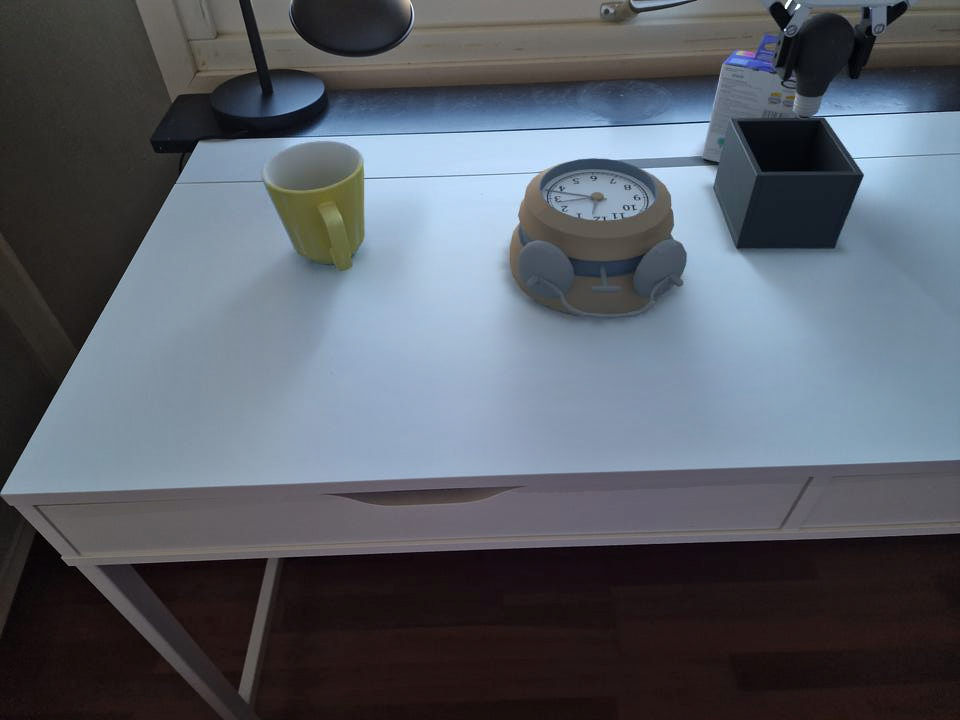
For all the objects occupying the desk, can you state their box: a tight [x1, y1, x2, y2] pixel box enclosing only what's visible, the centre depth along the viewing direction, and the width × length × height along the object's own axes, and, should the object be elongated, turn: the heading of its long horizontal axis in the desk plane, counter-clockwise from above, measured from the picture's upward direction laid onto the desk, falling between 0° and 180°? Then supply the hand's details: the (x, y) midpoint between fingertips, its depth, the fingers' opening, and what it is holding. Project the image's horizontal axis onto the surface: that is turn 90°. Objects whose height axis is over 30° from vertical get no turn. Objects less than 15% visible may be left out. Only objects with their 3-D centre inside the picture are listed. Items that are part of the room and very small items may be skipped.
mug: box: [260, 140, 366, 272], centre depth 71 cm, size 14×10×10 cm
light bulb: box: [793, 11, 855, 119], centre depth 67 cm, size 6×6×10 cm
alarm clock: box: [509, 157, 688, 320], centre depth 68 cm, size 17×9×23 cm
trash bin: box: [712, 116, 865, 249], centre depth 75 cm, size 10×12×9 cm
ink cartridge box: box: [701, 33, 799, 163], centre depth 82 cm, size 10×6×14 cm, turn 58°
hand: (815, 72), depth 67 cm, fingers closed on light bulb, 5 cm apart
